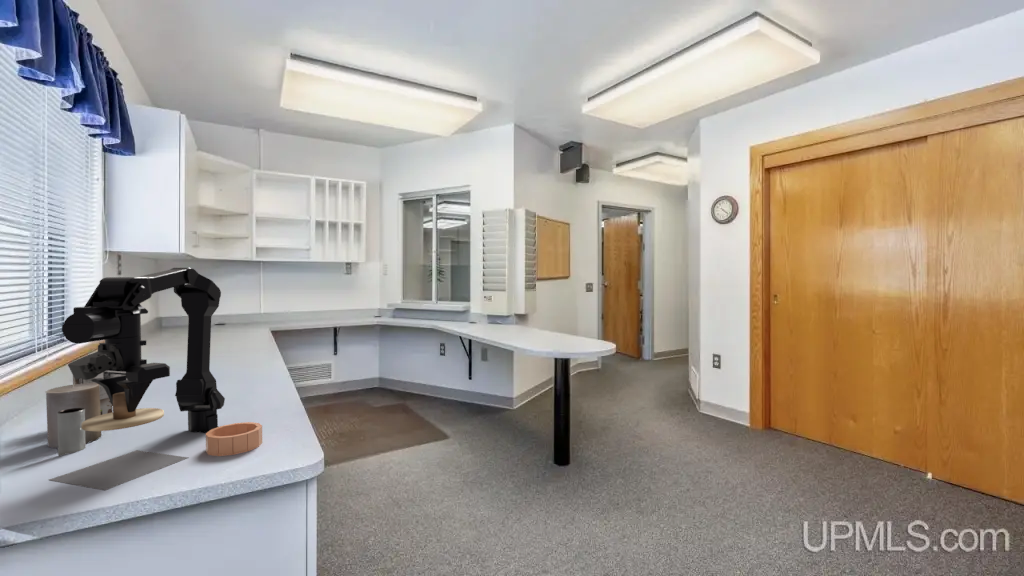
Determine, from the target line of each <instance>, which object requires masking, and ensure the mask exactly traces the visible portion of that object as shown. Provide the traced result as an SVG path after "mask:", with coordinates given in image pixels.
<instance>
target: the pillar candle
mask: <svg viewBox="0 0 1024 576" xmlns="http://www.w3.org/2000/svg"><path fill="white" fill-rule="evenodd" d="M44 392H45V399H46V402H45V403H46V404H45V405H46V428H47V429H46V431H47V446H48V447H49V448H51V449H58V421H57V413H58V412H59V411H62V410H66V409H71V408H85V420H87V419H90V418H93V417H96V416H99V415H101V411H100V391H99V384H97V383H84V384H75V382H74V384H73V383H72V384H68V385H67V384H66V385H62V386H57V387H53V388H50V389H48V390H45V391H44ZM101 437H102V431H86V430H85V444H88V443H92V442H94V441H97V440H98V439H99V438H101Z"/></svg>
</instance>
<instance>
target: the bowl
mask: <svg viewBox="0 0 1024 576" xmlns="http://www.w3.org/2000/svg"><path fill="white" fill-rule="evenodd" d="M262 444H263V425H262V424H261V423H259V422H255V421H253V422H251V421H245V422H235V423H234V422H233V423H230V424H224V425H220V426H218V427H217V428H214V429H211V430H210V431H208V432H207V433H205V452H206V455H207V456H213V457H222V456H223V457H225V456H233V455H239V454H243V453H246V452H250V451H252V450H254V449H257V448H259V447H260V446H261V445H262Z"/></svg>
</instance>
